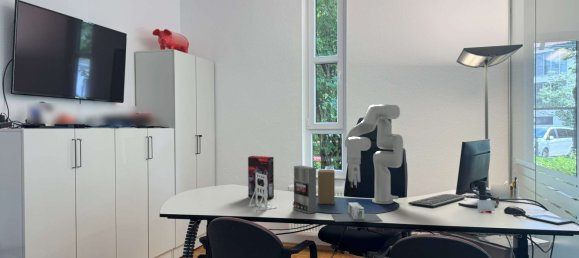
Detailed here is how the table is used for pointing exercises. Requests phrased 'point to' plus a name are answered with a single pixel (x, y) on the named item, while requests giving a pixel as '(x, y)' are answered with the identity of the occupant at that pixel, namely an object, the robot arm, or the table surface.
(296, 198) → the grey labelled carton
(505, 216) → the table surface
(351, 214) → the syrup box
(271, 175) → the graphics card box
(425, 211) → the table surface
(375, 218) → the mat
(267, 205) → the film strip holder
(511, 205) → the table surface
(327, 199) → the block
